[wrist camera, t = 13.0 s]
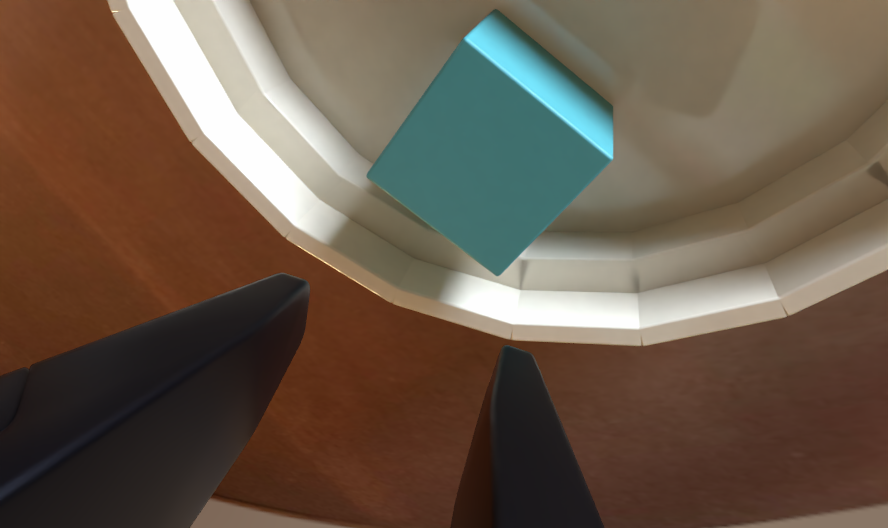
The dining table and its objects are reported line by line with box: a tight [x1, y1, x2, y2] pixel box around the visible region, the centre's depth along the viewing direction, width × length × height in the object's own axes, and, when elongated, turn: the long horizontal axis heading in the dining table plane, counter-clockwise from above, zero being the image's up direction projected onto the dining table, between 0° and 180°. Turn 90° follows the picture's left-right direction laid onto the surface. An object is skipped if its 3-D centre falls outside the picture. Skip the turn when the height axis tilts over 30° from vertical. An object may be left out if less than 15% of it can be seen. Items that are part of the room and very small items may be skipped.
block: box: [366, 9, 613, 277], centre depth 16 cm, size 4×4×4 cm
